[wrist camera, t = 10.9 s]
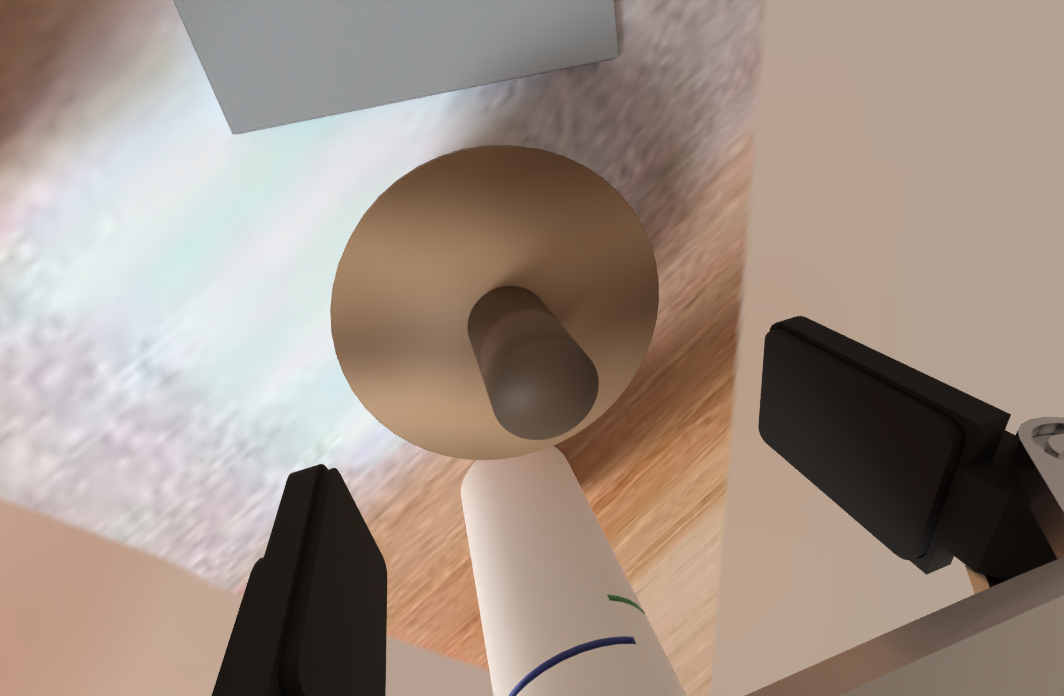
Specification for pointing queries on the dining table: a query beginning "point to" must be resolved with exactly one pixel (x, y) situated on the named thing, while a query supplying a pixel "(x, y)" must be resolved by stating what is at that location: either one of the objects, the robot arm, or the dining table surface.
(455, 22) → the mat
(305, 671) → the robot arm
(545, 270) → the lid
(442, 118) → the dining table surface
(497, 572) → the cylindrical container
